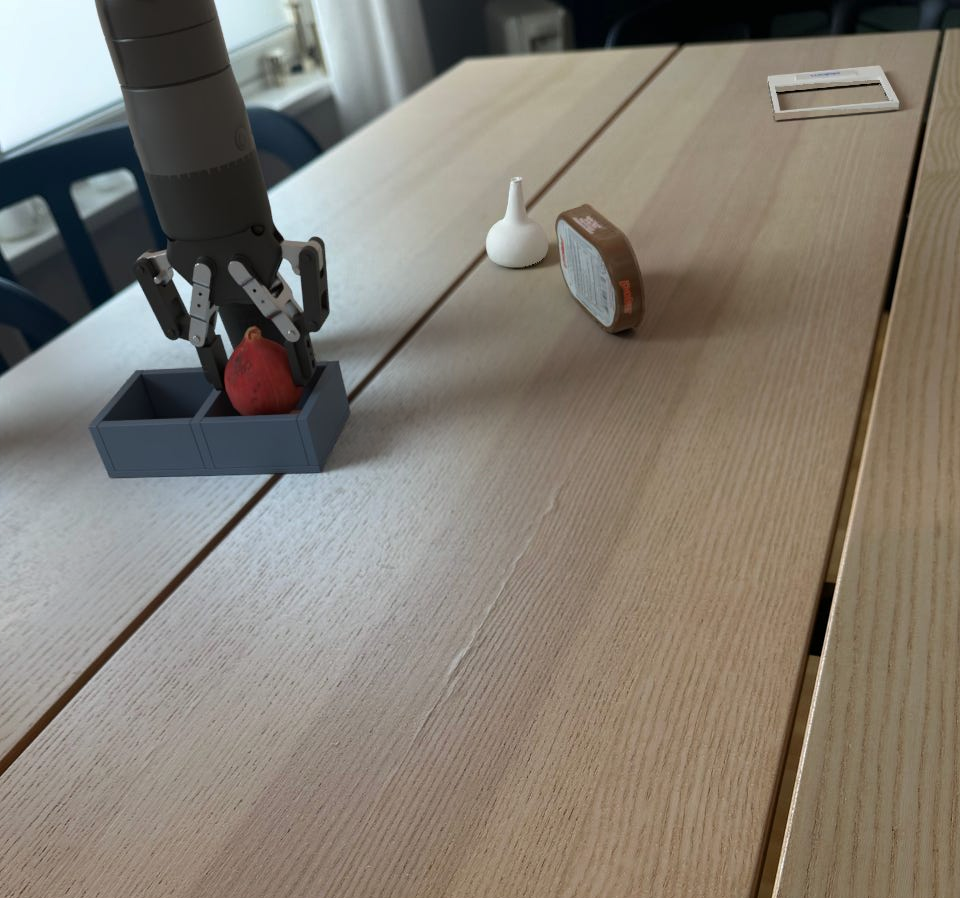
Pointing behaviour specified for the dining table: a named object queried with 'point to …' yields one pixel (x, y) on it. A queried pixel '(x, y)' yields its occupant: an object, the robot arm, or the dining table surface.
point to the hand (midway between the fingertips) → (264, 383)
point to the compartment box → (215, 427)
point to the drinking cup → (247, 323)
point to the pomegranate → (260, 377)
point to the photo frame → (834, 76)
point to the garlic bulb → (516, 234)
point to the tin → (600, 268)
